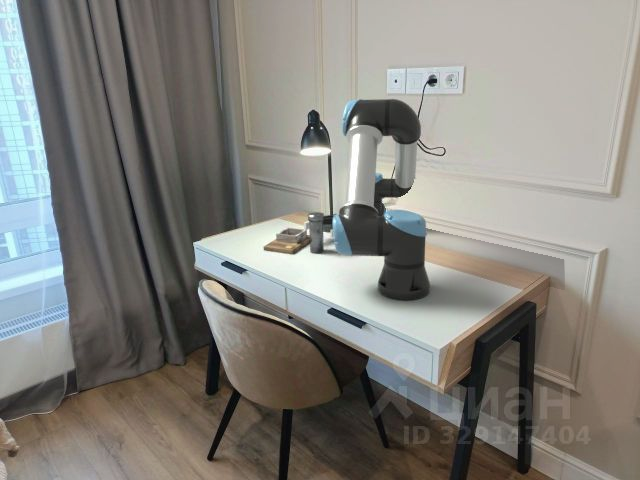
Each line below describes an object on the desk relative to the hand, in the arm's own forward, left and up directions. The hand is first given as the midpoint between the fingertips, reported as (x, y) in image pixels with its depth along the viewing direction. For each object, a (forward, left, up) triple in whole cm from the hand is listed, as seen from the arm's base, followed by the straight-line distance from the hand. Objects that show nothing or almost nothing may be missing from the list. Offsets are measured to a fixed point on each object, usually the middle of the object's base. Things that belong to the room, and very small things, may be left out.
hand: (317, 229), depth 174 cm
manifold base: (+2, +13, -8) cm, 15 cm away
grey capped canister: (-1, 0, -8) cm, 8 cm away
